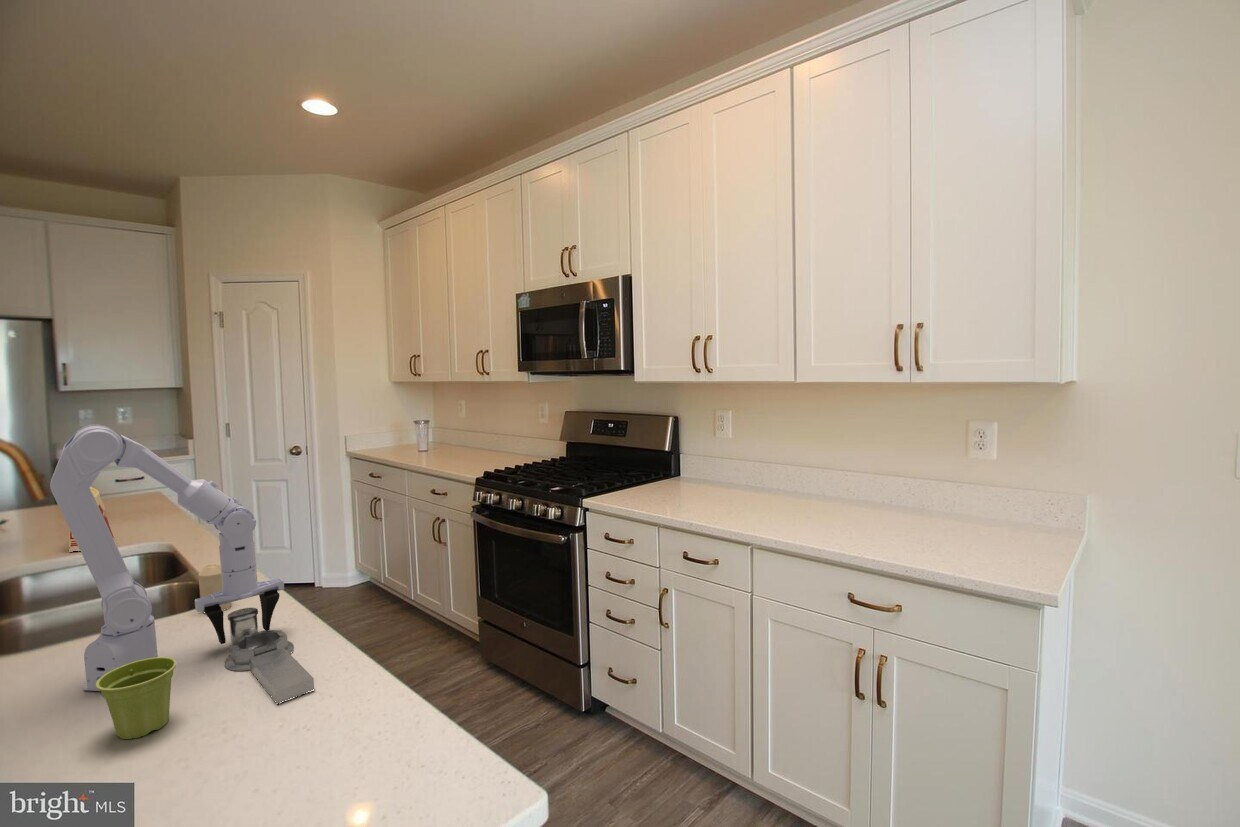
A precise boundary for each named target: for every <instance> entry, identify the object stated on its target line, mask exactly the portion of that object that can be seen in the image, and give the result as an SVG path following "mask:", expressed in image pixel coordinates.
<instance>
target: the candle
mask: <svg viewBox="0 0 1240 827" xmlns="http://www.w3.org/2000/svg"><path fill="white" fill-rule="evenodd" d="M197 576H198V587H199V598H202V597H205V596H208V595H211V594H214V593H217V592H219V591H222V590H223V586H222V575H221V564H207V565H205V566H204V567H203V568H202V569H201V571H200V572H199V573H197ZM219 606H220V607H221V610H224V609H227V608H228V609H230V608H231V607H230V606H232V602H230V603H226V604H223V605H219ZM229 607H230V608H229ZM228 609H227V610H228ZM224 611H225V610H224ZM202 612H204V611H201V613H202Z"/></svg>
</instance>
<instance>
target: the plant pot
mask: <svg viewBox="0 0 1240 827" xmlns="http://www.w3.org/2000/svg"><path fill="white" fill-rule="evenodd" d="M177 664H178V663H177V660H176V659H175V658H174V657H170V656H169V657H167V656H158V657H155V658H148V659H144V660H139V661H135V662H132V663H129V664H126V665H123V666H121V667H118V668H116V669H114V670H112V671H110V672H108V673H106V674H105V675H103V676H102V677H101V678H99V679H98V680H97V682H96V688H97V689H98V690H100V691H99V692H100V693H101V695H102V697H104V700H105V702H106V704H107V707H108V711H109V714H110V716H111V720H112V723H113V726H114V729H115V733H116V736H118V737H119V738H120V739H122V740H131V739H132V738H133V739H136V738H137V737H138V738H142V737H144V736H147V735H148V734H149V733H150V732H153V731H155V730H156V731H157V730H160V729H162V728H163V727H164V726H165V725H166V724H167V723H168V722H169V720H170V705H171V692H172V691H171V688H172V677H173V676H174V669H176V668H177ZM141 736H142V737H141Z"/></svg>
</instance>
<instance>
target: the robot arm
mask: <svg viewBox="0 0 1240 827" xmlns="http://www.w3.org/2000/svg"><path fill="white" fill-rule="evenodd" d="M113 462H114V463H115V465H116V466H117V467H124V468H135V469H138V470H139V471H141V472H143V473H145V474H146V475H147V476H150V478H152V479H154V480H155V481H157V482H159V483H161V484H162V485H163V486H165V487H166V488H168V489H169V490H171V491H173V492H174V493H176V494H177V503H178V505H179V506H181V507H182V508H184V509H185V510H186V511H189V512H190V513H192V514H193V515H194V516H196V517H198V518H199V519H201V520H202V521H204V522H205V523H206V524H209V525H213V526H214V528H215V529H216V530H218V531H219V533H218V535H219V536H218V538H219V546H218V549H219V550H218V552H219V562H220V565H221V575H222V586H223V590H222V591H219V592H217V593H214V594H211V595H208V596H205V597H202V598H200V597H199V598H195V599H194V607H195V608H194V609H195V611H196V612H197V613H200V612H202V611H204V612H205V613H206V614H205V613H204V614H205V615H206V616H207V617H208V619H209V621H210V622H211V624H212V627H214V631H215V632H216V635H217V639H218V642H219V643H220V645H223V644H226V642H227V641H226V635H225V634H226V633H225V628H224V627H225V625H224V611H222V610H221V607H220V606H219V605H223V604H226V603H230V602H231V603H234V602H237V601H238V602H239V601H241V600H245V599H249V598H253V597H257V596H259V601H260V607H261V608H260V609H261V626H262V628H263V630H271V628H270V627H271V623H272V622H271V621H272V619H273V618H272V617H273V613H274V610H275V608H276V606H277V603H278V602H279V600H280V591H283V590H285V581H284V579H282V578H281V577H279V578H276V579H270V580H263V581H258V570H257V560H256V548H255V541H254V533H253V532H254V530H255V529H256V526H257V520H256V519H255V516H254V514H253V513H252V512H251V511H250V510H249V509H247V508H246V507H245V506H243V504H241V503H240V500H239V499H237V498H236V497H230V496H229V495H227V494H226V493H225V492H223V491H221V490H220V489H218V486H219V484H218V483H216V482H214V481H213V480H209V481H207V480H206V479H203V478H200V479H190V478H189V477H187V476H186V475H185V474H183V473H182V472H180V471H179V470H178V469H176V468H175V467H174V466H172V465H171V464H169V463H168V462H167V461H165V460H164V459H163V458H161V457H160V456H159V455H157V454H155V452H153V451H152V450H150V449H149V448H147V447H146V446H144V444H141V443H139V442H137V441H135V440H133V439H131V438H129V437H127V436H125V435H122V434H120V435H119V434H117V433H116V431H114V429H112V428H110V427H108V426H106V425H102V424H89V425H85V426H83V427H81V428H80V429H78V430H77V431H75V433H74V434H73V435H72V436H71V437H70V438H69V439H68V440H67V442H65V443H64V445H63V448H62V451H61V453H60V455H59V458H58V462H57V464H56V466H55V468H54V472H53V474H52V477H51V479H50V484H49V488H50V491H51V493H52V495H53V497H54V500H55V502H56V504H57V506H58V508H59V510H60V512H61V514H62V516H63V518H64V520H65V522H66V525H67V526H68V529H70V531H71V533H72V535H73V537H74V539H75V541H76V543H77V545H78V547H79V549H80V551H81V552H80V553H81V556H82V558H83V559H84V561H85V564H86V565H87V567H88V569H89V572H90V575H91V576H92V579H93V580H94V583H95V585H96V587H97V590H98V592H99V595H100V597H101V603H100V605H101V609H102V612H103V620H104V624H103V625H102V626H101V627H100V632H101V633H100V634H99V636H98V637H97V638H96V639H95V640H94V641H91V643H89V644H88V645H87V646H86V648H85V650H84V653H83V660H84V661H83V662H84V669H85V671H84V672H85V679H86V685H84V686H83V687H82V690H83V691H92V692H93V691H94V692H95V691H96V692H97V691H98V692H101V691H100V690H98V689H97V688H96V682H97V680H98V679H99V678H101V677H102V676H103V675H105V674H106V673H108V672H110V671H112V670H114V669H116V668H118V667H121V666H123V665H126V664H129V663H132V662H135V661H139V660H144V659H148V658H155V657H159V654H158V645H157V644H158V643H157V634H156V633H157V632H156V623H155V616H153V615H152V612H153V606H152V603H151V601H150V600H149V598H148V594H147V591H146V589H145V588H144V586H142V584H139V583H138V582H136V581H135V579H134V578H133V577H132V575H131V573H130V570H129V569H128V567H127V565H126V563H125V560H124V559H123V557H122V556H123V555H122V554H121V552H120V550H119V548H118V545H117V544H116V542H115V541H116V540H115V541H114V539H115V538H114V539H113V537H112V535H111V532H110V530H109V528H108V526H107V524H106V522H105V520H104V517H103V515H102V513H101V511H100V509H99V507H98V505H97V502H96V500H95V498H94V496H93V494H92V492H91V490H90V486H91V487H92V484H93V483H94V482H95V481H96V479H97V478H98V476H99V475H100V473H101V472H102V471H103V470H104V469H105V468H107V467H109V466H110V465H111V464H112V463H113Z"/></svg>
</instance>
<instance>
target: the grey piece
mask: <svg viewBox="0 0 1240 827" xmlns="http://www.w3.org/2000/svg"><path fill="white" fill-rule="evenodd" d="M293 649H295V647H294V643H293V642H292V641H289V640H288V635H287V634H286V633H285V632H284V631H283V630H281V629H273V630H271V629H270V630H264V629H263V630H260V631H258V632H256V633H253V634H250V635H246V636H243V637H241V638H239V639H238V640H237V641H235V642H234V643H233V644H231V643H230V645H229V652H230V654H228V656H227V657H225V659H224V661H223V662H224V668H226V669H227V670H229V671H232V672H251V673H253V674H254V675H253V674H252V675H253V676H254V678H255V679H256V678H257V679H258V680H259V681H258V680H257V681H258V682H259V684H260V683H261V684H262V685H263V686H262V685H261V684H260V685H261V686H262V687H263V688H265V689H266V690H267V691H266V690H265V689H264V690H265V691H266V692H267V693H269V694H270V695H271V696H272V698H273V699H274V700H275V701H276V703H280V702H282V701H285V700H288V699H290V698H293V697H296V696H299V695H302V694H304V693H306V692H308V691H311V690H313V689H314V690H315V680H314V676H312V675H311V674H310V672H308V670H307V669H305V667H304V666H302V664H300V662H298V661H297V660H296V659H295V657H293V656H292V654H291V655H290V653H291V652H292V651H293V652H294V650H293ZM293 652H292V653H293ZM248 670H250V671H248ZM269 694H268V695H269ZM270 695H269V696H270ZM271 696H270V697H271ZM272 698H271V699H272ZM273 699H272V700H273ZM274 700H273V701H274ZM275 701H274V702H275ZM276 703H275V704H276Z"/></svg>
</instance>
